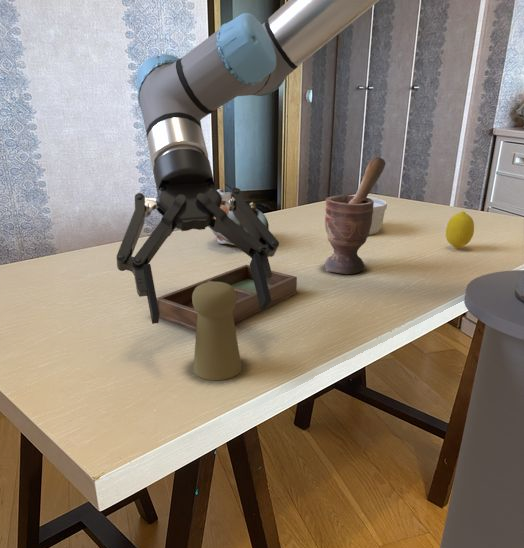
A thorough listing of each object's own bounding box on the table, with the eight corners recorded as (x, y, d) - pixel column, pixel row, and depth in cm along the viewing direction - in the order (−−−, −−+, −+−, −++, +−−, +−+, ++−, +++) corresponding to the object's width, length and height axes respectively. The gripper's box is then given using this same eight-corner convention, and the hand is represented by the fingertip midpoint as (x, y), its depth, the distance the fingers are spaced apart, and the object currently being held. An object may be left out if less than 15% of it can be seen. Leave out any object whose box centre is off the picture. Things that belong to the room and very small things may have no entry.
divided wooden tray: (296, 293, 90) (297, 276, 88) (209, 335, 75) (208, 316, 73) (246, 280, 96) (246, 264, 94) (156, 316, 81) (154, 298, 80)
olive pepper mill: (248, 375, 65) (246, 290, 60) (199, 383, 63) (194, 296, 58) (233, 354, 70) (231, 274, 65) (188, 361, 68) (182, 279, 63)
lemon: (475, 249, 113) (482, 212, 109) (459, 254, 110) (465, 215, 106) (454, 244, 117) (460, 207, 113) (437, 248, 114) (443, 210, 111)
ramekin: (394, 229, 129) (397, 200, 126) (365, 240, 120) (368, 209, 117) (348, 221, 136) (350, 193, 133) (318, 231, 128) (319, 201, 125)
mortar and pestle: (342, 256, 109) (349, 153, 100) (381, 263, 105) (392, 156, 96) (314, 270, 101) (319, 159, 92) (355, 279, 96) (365, 163, 87)
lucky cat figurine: (276, 250, 112) (250, 195, 103) (225, 271, 115) (194, 220, 105) (269, 215, 123) (244, 162, 114) (222, 235, 126) (195, 185, 116)
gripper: (264, 178, 77) (299, 311, 71) (84, 187, 70) (107, 336, 64) (277, 142, 70) (317, 287, 64) (79, 148, 63) (103, 312, 57)
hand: (212, 312), depth 64 cm, fingers open, 13 cm apart
